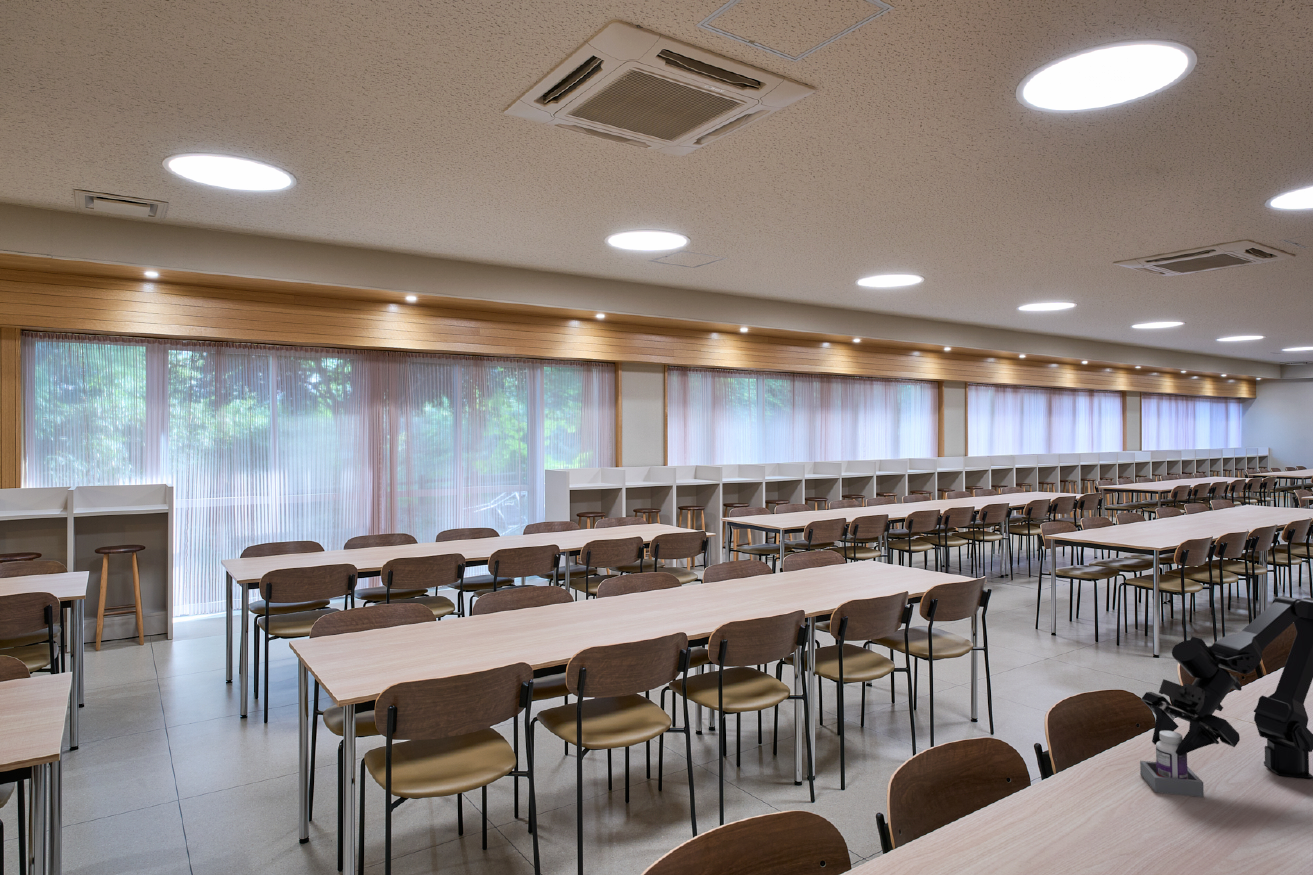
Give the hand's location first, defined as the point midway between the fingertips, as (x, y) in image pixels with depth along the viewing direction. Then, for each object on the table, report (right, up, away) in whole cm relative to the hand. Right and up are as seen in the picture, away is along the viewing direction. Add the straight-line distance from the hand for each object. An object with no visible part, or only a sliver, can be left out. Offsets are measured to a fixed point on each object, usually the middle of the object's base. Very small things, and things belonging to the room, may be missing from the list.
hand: (1165, 748), depth 155 cm
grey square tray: (+1, -8, 0) cm, 8 cm away
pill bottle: (+1, -7, 0) cm, 7 cm away
